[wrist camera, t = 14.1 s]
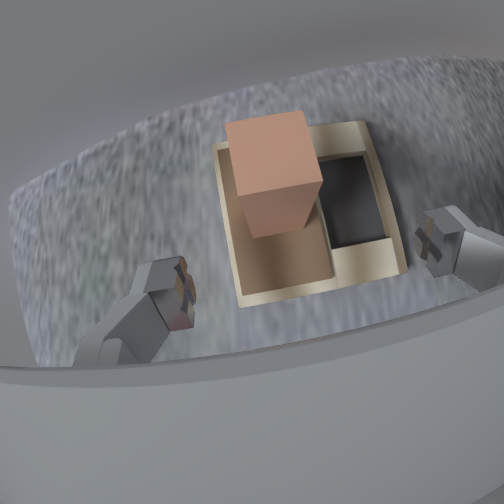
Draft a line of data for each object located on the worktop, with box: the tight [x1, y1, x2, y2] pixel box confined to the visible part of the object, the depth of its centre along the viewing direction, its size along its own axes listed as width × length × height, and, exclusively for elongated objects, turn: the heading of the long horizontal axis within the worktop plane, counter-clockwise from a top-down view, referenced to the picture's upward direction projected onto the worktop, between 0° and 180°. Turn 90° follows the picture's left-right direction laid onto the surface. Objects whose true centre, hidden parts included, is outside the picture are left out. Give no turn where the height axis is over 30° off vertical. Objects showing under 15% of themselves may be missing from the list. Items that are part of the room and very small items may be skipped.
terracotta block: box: [225, 110, 323, 238], centre depth 22 cm, size 4×4×12 cm
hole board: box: [211, 120, 408, 308], centre depth 29 cm, size 16×16×2 cm
